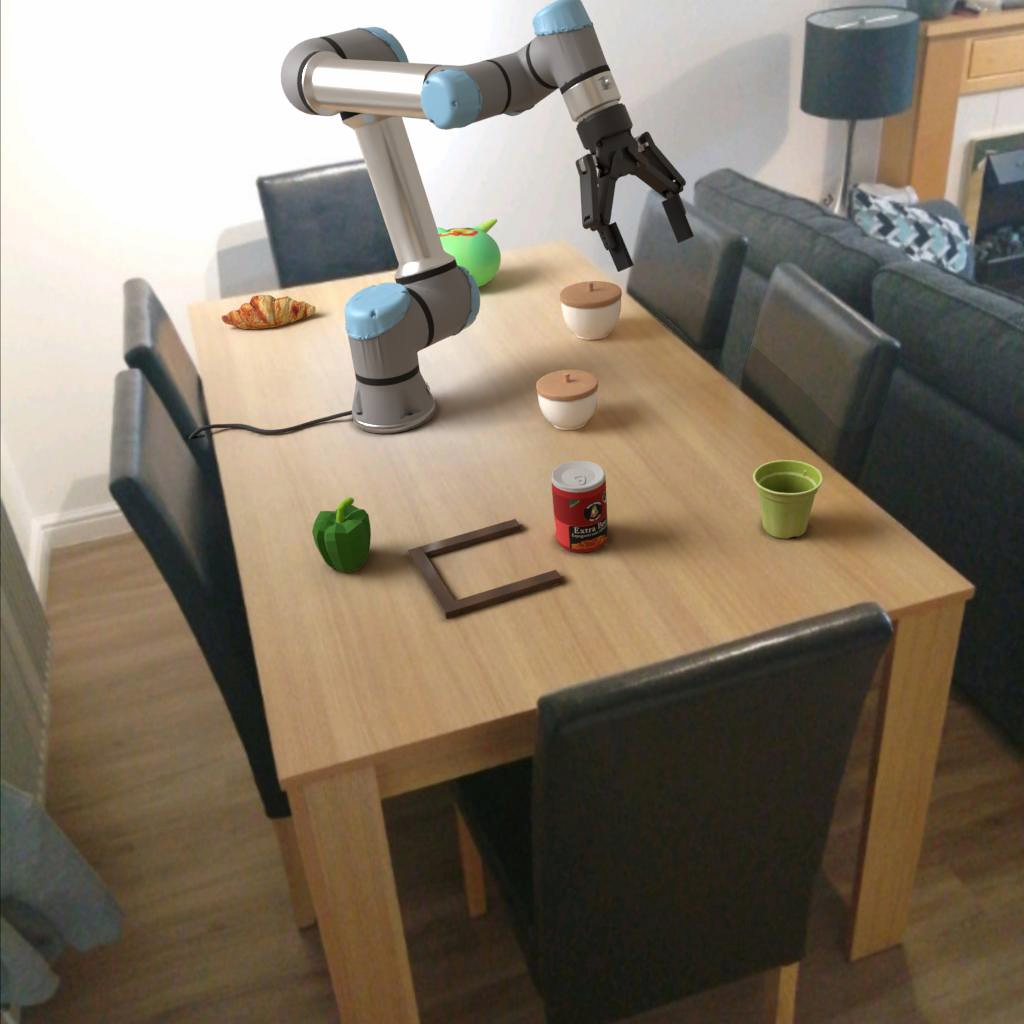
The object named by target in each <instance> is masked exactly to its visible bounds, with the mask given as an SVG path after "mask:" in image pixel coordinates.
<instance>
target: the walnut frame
mask: <svg viewBox="0 0 1024 1024" xmlns="http://www.w3.org/2000/svg"><path fill="white" fill-rule="evenodd" d="M521 530H522V528H521V524H520V523H519V521H518V520H517V519H516V518H513V519H510V520H506V521H503V522H499V523H496V524H493V525H489V526H485V527H483V528H479V529H475V530H472V531H468V532H465V533H461V534H457V535H455V536H452V537H447V538H443V539H440V540H438V541H434V542H432V543H427V544H423V545H421V546H418V547H414V548H410V549H408V550H407V551H408V556H409V559H410V560H411V562H412V563H413V565H414V567H415V568H416V570H417V572H418V573H419V575H420V577H421V578H422V580H423V582H424V584H425V585H426V588H427V589H428V590H429V592H430V594H431V595H432V598H433V599H434V601H435V603H436V604H437V606H438V608H439V610H440V611H441V613H442V615H443V616H444V618H445V619H449V618H454V617H456V616H459V615H463V614H466V613H470V612H472V611H476V610H478V609H482V608H485V607H488V606H492V605H495V604H498V603H500V602H501V603H502V602H504V601H507V600H511V599H514V598H517V597H520V596H523V595H526V594H530V593H533V592H536V591H540V590H542V589H545V588H549V587H552V586H556V585H558V584H562V583H563V577H562V576H561V574H560V573H559V572H558V570H557V569H553V570H549V571H546V572H543V573H540V574H537V575H533V576H530V577H527V578H524V579H521V580H518V581H515V582H510V583H508V584H505V585H501V586H498V587H494V588H492V589H489V590H486V591H482V592H479V593H475V594H472V595H468V596H465V597H463V598H459V599H456V600H455V599H454V598H453V596H452V595H451V593H450V591H449V590H448V588H447V587H446V585H445V582H443V579H442V578H441V577H440V575H439V574H438V572H437V570H436V568H435V567H434V566H433V564H432V562H431V561H430V559H429V558H431V557H435V556H439V555H442V554H445V553H449V552H452V551H455V550H459V549H463V548H465V547H469V546H473V545H475V544H476V545H477V544H479V543H484V542H487V541H490V540H493V539H496V538H500V537H503V536H507V535H509V534H513V533H516V532H520V531H521Z"/></svg>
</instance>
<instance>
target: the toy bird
mask: <svg viewBox="0 0 1024 1024" xmlns="http://www.w3.org/2000/svg"><path fill="white" fill-rule="evenodd" d="M497 222H498V218H497V219H496V218H493V219H489V220H487V221H485V222H483V223H480V224H478V225H476V226H474V227H457V228H456V227H455V228H453V227H452V228H448V229H445V228H443V227H438V226H436V227H437V230H438V233H439V236H440V239H441V243H442V246H443V249H444V251H445V252H447V253H449V254H450V255H452V256H454V257H455V259H456V263H457V265H459V266H462V267H464V268H466V269H467V270H468V271H469V275H473V277H474V279H475V280H476V282H477V285H478V288H480V287H482V286H485V285H486V284H488V283H489V282H490V281H492V280H493V279H494V278H495V276H497V273H498V272H499V269H500V266H501V262H502V256H501V250H500V247H499V245H498V243H497V242H496V240H495V239H494V238H493V236H491V235H490V234H488V232H489V231H490V230H491V229H492V228H493V227H494V226H495V225H496V224H497Z"/></svg>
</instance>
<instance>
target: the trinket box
mask: <svg viewBox="0 0 1024 1024" xmlns="http://www.w3.org/2000/svg"><path fill="white" fill-rule="evenodd" d="M535 387H536V392H537V400H538V405H539V409H540V412H541V413H542V415H543V417H544V418H545V419H546V421H548V422H549V423H550V424H552V426H553V428H555V429H557V430H561V431H573V430H578V429H580V428H583V427H585V425H587V423H588V421H589V420H591V418H592V417H593V416H594V414H595V412H596V409H597V406H598V398H599V380H598V378H597V376H596V375H594V374H593V373H591V372H590V371H589V372H588V371H585V370H581V369H561V370H557V371H551V372H549V373H547V374H545V375H543V376H541V377H540V378H539V379H538V380H537V382H536V385H535Z"/></svg>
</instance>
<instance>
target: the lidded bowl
mask: <svg viewBox="0 0 1024 1024" xmlns="http://www.w3.org/2000/svg"><path fill="white" fill-rule="evenodd" d="M622 294H623V293H622V288H621V287H620V286H619V285H618V284H615V283H613V282H609V281H604V280H603V281H602V280H588V281H582V282H576V283H572V284H570V285H568V286H565V287H564V288H563V289H561V291H560V292H559V301H560V304H561V305H560V307H561V314H562V318H563V321H564V323H565V326H566V327H567V329H569V330H570V332H572V333H573V334H575V337H576V338H578V339H580V340H585V341H596V340H601V339H604V338H606V337H608V336H609V335H610V333H611V331H613V330H614V329H615V327H616V326H617V324H618V322H619V320H620V316H621V311H622Z"/></svg>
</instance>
